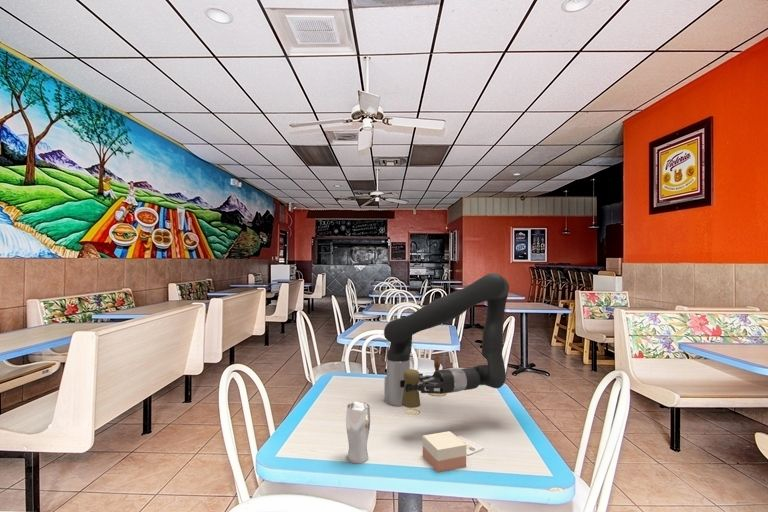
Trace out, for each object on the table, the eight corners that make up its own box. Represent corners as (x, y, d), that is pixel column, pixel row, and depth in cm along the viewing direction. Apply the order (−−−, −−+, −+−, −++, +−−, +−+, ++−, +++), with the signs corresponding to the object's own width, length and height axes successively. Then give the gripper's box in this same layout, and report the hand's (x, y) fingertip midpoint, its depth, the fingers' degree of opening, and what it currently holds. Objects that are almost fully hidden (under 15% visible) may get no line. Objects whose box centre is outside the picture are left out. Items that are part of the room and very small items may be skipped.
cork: (419, 408, 121) (420, 373, 121) (400, 407, 122) (401, 372, 122) (421, 401, 127) (421, 368, 127) (402, 400, 128) (403, 366, 128)
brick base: (422, 456, 113) (422, 435, 113) (449, 451, 116) (449, 431, 116) (437, 472, 105) (437, 450, 105) (466, 466, 108) (466, 444, 108)
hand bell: (423, 391, 169) (423, 354, 169) (438, 388, 172) (439, 352, 173) (434, 397, 161) (435, 359, 161) (450, 394, 165) (451, 357, 165)
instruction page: (444, 442, 122) (444, 441, 122) (459, 436, 126) (459, 435, 126) (468, 455, 114) (468, 454, 114) (483, 449, 118) (483, 447, 118)
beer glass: (373, 454, 114) (373, 403, 114) (364, 466, 107) (365, 412, 107) (351, 450, 116) (352, 400, 116) (341, 461, 109) (342, 408, 109)
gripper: (439, 363, 136) (394, 368, 130) (461, 375, 123) (412, 381, 117) (439, 385, 136) (394, 390, 130) (460, 399, 123) (411, 405, 117)
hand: (402, 385), depth 124 cm, fingers closed on cork, 3 cm apart
